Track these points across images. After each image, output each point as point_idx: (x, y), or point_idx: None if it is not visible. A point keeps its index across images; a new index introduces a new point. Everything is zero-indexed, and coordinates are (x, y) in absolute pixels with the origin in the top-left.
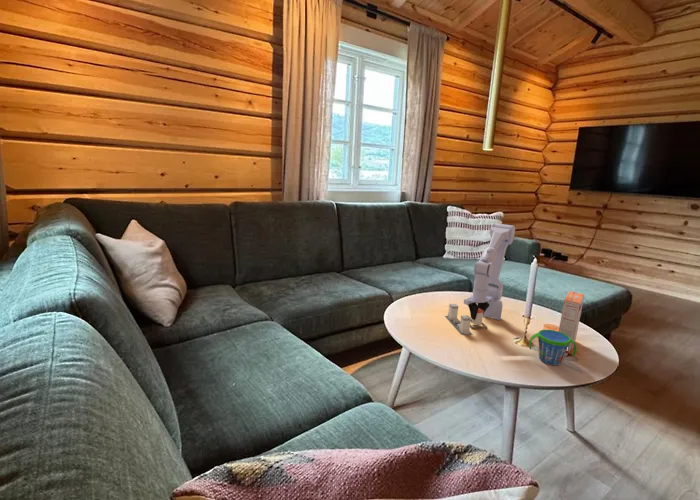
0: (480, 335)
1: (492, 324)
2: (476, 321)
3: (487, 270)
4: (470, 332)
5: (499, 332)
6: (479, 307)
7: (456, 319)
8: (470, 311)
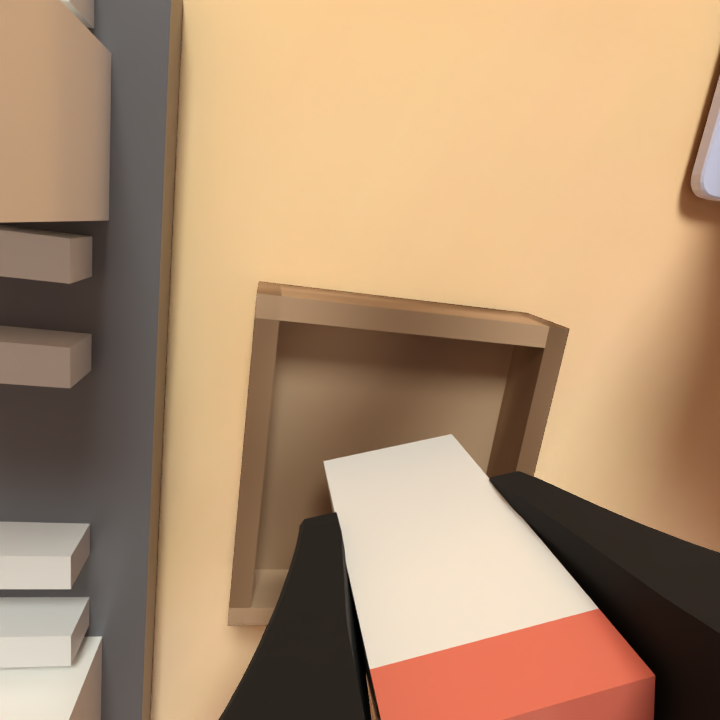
0: None
1: (710, 368)
2: None
3: None
4: (136, 714)
5: None
6: (684, 702)
7: (58, 276)
8: (272, 649)
